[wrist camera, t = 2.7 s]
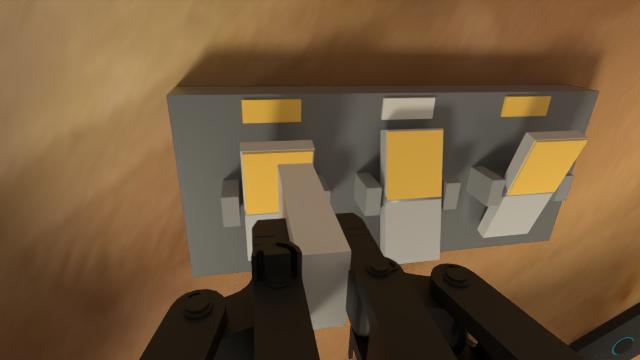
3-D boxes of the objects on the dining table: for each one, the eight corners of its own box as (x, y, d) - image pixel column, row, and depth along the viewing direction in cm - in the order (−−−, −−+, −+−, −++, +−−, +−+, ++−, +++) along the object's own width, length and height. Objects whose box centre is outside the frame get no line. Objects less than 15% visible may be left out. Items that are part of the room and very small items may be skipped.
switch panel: (197, 252, 28) (188, 302, 23) (175, 86, 23) (157, 104, 18) (524, 223, 34) (573, 258, 29) (566, 84, 29) (634, 98, 24)
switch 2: (380, 260, 25) (386, 266, 24) (380, 129, 23) (386, 130, 22) (432, 254, 26) (440, 260, 25) (436, 128, 24) (444, 128, 23)
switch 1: (247, 250, 25) (248, 262, 24) (239, 141, 20) (239, 153, 19) (304, 244, 26) (306, 256, 25) (311, 139, 20) (315, 150, 19)
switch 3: (476, 228, 29) (483, 239, 28) (525, 132, 23) (536, 141, 22) (520, 224, 29) (528, 234, 29) (577, 130, 24) (590, 138, 23)
